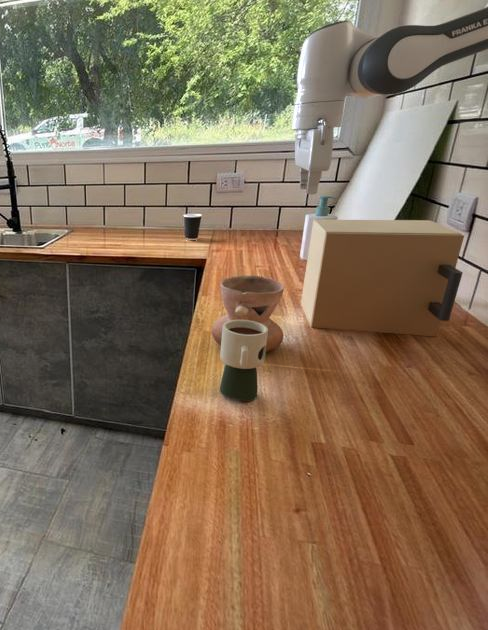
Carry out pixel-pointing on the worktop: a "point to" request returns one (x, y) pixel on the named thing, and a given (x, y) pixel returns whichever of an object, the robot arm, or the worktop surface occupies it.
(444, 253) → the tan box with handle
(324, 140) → the robot arm
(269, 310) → the terracotta hourglass vessel
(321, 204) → the soap bottle
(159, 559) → the worktop surface
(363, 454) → the worktop surface
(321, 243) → the cupboard
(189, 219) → the dixie cup
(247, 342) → the character mug
